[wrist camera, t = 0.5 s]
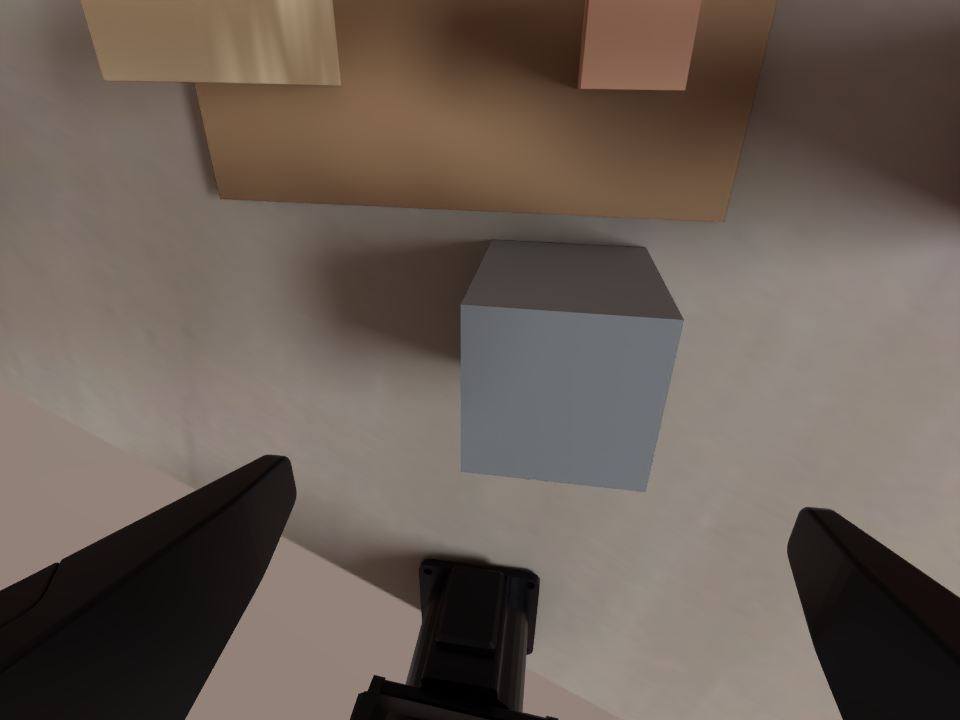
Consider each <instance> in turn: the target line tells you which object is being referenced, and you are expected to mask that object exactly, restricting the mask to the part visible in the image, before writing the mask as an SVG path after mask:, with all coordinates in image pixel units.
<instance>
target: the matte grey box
mask: <svg viewBox="0 0 960 720" xmlns="http://www.w3.org/2000/svg"><path fill="white" fill-rule="evenodd" d="M683 322H684V319H683V318H682V316H681V314H680V312H679V310H678V308H677V306H676V304H675V302H674V300H673V298H672V296H671V295H670V293H669V291H668V289H667V287H666V285H665V283H664V281H663V279H662V277H661V275H660V273H659V272H658V270H657V268H656V266H655V264H654V262H653V260H652V258H651V256H650V254H649V252H648V250H647V249H646V248H642V247H623V246H604V245H585V244H566V243H547V242H528V241H509V240H492V241H491V243H490V245H489V247H488V249H487V251H486V254H485V256H484V258H483V260H482V262H481V264H480V266H479V268H478V270H477V272H476V274H475V276H474V278H473V280H472V282H471V284H470V286H469V288H468V290H467V293H466V295H465V297H464V299H463V301H462V303H461V472H469V473H478V474H487V475H496V476H505V477H514V478H523V479H533V480H542V481H551V482H560V483H569V484H578V485H587V486H596V487H605V488H614V489H623V490H632V491H641V492H646V487H647V483H648V478H649V474H650V469H651V465H652V460H653V456H654V451H655V447H656V442H657V438H658V433H659V429H660V425H661V420H662V416H663V411H664V407H665V402H666V398H667V393H668V389H669V384H670V380H671V375H672V371H673V366H674V362H675V357H676V353H677V348H678V344H679V339H680V335H681V330H682V326H683Z"/></svg>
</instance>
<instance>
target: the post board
mask: <svg viewBox="0 0 960 720" xmlns="http://www.w3.org/2000/svg"><path fill="white" fill-rule="evenodd" d="M80 1H81V4H82V8H83V11H84V15H85V18H86V21H87V25H88V28H89V31H90V35H91V38H92V42H93V45H94V48H95V52H96V55H97V59H98V62H99V65H100V69H101V72H102V76H103V79H104V80H108V81H150V82H192V83H194V84H195V88H196V93H197V97H198V102H199V106H200V111H201V115H202V120H203V124H204V129H205V133H206V138H207V142H208V147H209V151H210V156H211V160H212V165H213V169H214V174H215V178H216V183H217V187H218V192H219V196H220V199H232V200H254V201H276V202H297V203H319V204H341V205H362V206H384V207H406V208H428V209H449V210H471V211H493V212H514V213H536V214H558V215H580V216H601V217H623V218H645V219H666V220H688V221H710V222H724V221H725V217H726V212H727V208H728V204H729V200H730V196H731V192H732V187H733V183H734V179H735V175H736V171H737V167H738V162H739V158H740V154H741V150H742V146H743V142H744V138H745V133H746V129H747V125H748V121H749V117H750V113H751V108H752V104H753V100H754V96H755V92H756V88H757V83H758V79H759V75H760V71H761V67H762V63H763V58H764V54H765V50H766V46H767V42H768V38H769V34H770V29H771V25H772V21H773V17H774V13H775V9H776V4H777V0H80Z"/></svg>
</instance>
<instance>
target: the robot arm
mask: <svg viewBox="0 0 960 720" xmlns="http://www.w3.org/2000/svg"><path fill="white" fill-rule="evenodd" d="M295 500H296V486H295V481H294V476H293V471H292V466H291V462H290V460H289V458H288V457H286V456H279V455H264V456H262V457H260V458H258V459H256V460H254V461H253V462H251V463H249V464H247V465H245V466H243V467H241V468H239V469H237V470H235V471H233V472H231V473H229V474H227V475H225V476H223V477H221V478H219V479H218V480H216V481H214V482H212V483H210V484H208V485H206V486H204V487H202V488H200V489H198V490H196V491H194V492H192V493H190V494H188V495H186V496H185V497H183V498H181V499H179V500H177V501H175V502H173V503H171V504H169V505H167V506H165V507H163V508H161V509H159V510H157V511H155V512H153V513H151V514H150V515H147V516H146V517H144V518H142V519H140V520H138V521H136V522H134V523H132V524H130V525H128V526H126V527H124V528H122V529H120V530H118V531H117V532H115V533H112V534H110V535H109V536H107V537H105V538H103V539H101V540H99V541H97V542H95V543H93V544H91V545H89V546H87V547H85V548H84V549H81V550H79V551H77V552H75V553H74V554H72V555H70V556H68V557H66V558H64V559H62V560H61V562H60V563H54V564H52V565H50V566H48V567H46V568H44V569H42V570H40V571H39V572H37V573H35V574H33V575H31V576H29V577H27V578H25V579H23V580H21V581H19V582H17V583H15V584H13V585H11V586H9V587H7V588H5V589H3V590H1V591H0V720H185V718H186V717H187V715H188V713H189V711H190V709H191V708H192V706H193V704H194V702H195V700H196V698H197V697H198V695H199V693H200V691H201V689H202V687H203V686H204V684H205V682H206V680H207V678H208V677H209V675H210V673H211V671H212V669H213V668H214V666H215V664H216V662H217V660H218V658H219V657H220V655H221V653H222V651H223V649H224V648H225V646H226V644H227V642H228V640H229V639H230V637H231V635H232V633H233V631H234V629H235V628H236V626H237V624H238V622H239V620H240V618H241V617H242V615H243V613H244V611H245V610H246V608H247V606H248V604H249V602H250V600H251V599H252V597H253V595H254V593H255V591H256V589H257V588H258V586H259V584H260V582H261V580H262V578H263V576H264V574H265V572H266V569H267V567H268V565H269V563H270V560H271V558H272V556H273V553H274V551H275V549H276V546H277V544H278V542H279V539H280V537H281V534H282V532H283V530H284V527H285V525H286V523H287V520H288V518H289V516H290V513H291V511H292V508H293V506H294V504H295ZM787 554H788V559H789V563H790V566H791V569H792V573H793V576H794V580H795V583H796V587H797V590H798V594H799V597H800V601H801V604H802V608H803V611H804V615H805V618H806V622H807V625H808V629H809V632H810V636H811V639H812V642H813V645H814V648H815V651H816V653H817V656H818V659H819V661H820V664H821V667H822V669H823V672H824V674H825V676H826V679H827V681H828V684H829V686H830V689H831V691H832V694H833V696H834V699H835V701H836V704H837V706H838V709H839V711H840V714H841V716H842V719H843V720H960V598H959V597H958V596H957V595H955V594H954V593H952V592H951V591H949V590H948V589H946V588H945V587H944V586H942V585H941V584H939V583H938V582H936V581H935V580H933V579H932V578H930V577H929V576H928V575H926V574H925V573H923V572H922V571H920V570H919V569H917V568H916V567H915V566H913V565H912V564H910V563H909V562H907V561H906V560H904V559H903V558H902V557H900V556H899V555H897V554H896V553H894V552H893V551H891V550H890V549H888V548H887V547H886V546H884V545H883V544H881V543H880V542H878V541H877V540H875V539H874V538H873V537H871V536H870V535H868V534H867V533H865V532H864V531H862V530H861V529H860V528H858V527H857V526H855V525H854V524H852V523H851V522H849V521H848V520H846V519H845V518H844V517H842V516H841V515H839V514H838V513H836V512H835V511H833V510H831V509H825V508H815V507H805V508H803V509H802V510H801V511H800V512H799V514H798V517H797V520H796V522H795V525H794V528H793V530H792V533H791V536H790V538H789V541H788V546H787ZM419 578H420V595H421V611H422V625H421V629H420V632H419V636H418V640H417V643H416V647H415V651H414V655H413V658H412V662H411V666H410V670H409V673H408V677H407V681H406V685H404V684H400V683H396V682H392V681H388V680H385V677H380V676H377V675H374V676H373V679H372V681H371V684H370V687H369V689H368V691H365V692H363V693H360V694H358V697H357V700H356V703H355V706H354V709H353V712H352V715H351V718H350V720H558V718H554V717H549V716H546V718H544V717H539V716H535V715H531V714H527V713H523V712H522V710H523V696H524V681H525V667H526V655H528V654H531V653H532V651H533V644H534V634H535V625H536V615H537V606H538V596H539V586H540V579H539V577H538V576H537V575H536V574H533V573H529V572H521V571H514V570H506V569H499V568H491V567H483V566H476V565H468V564H461V563H453V562H446V561H438V560H431V559H426V560H423V561H422V562H421V565H420V568H419Z"/></svg>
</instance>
